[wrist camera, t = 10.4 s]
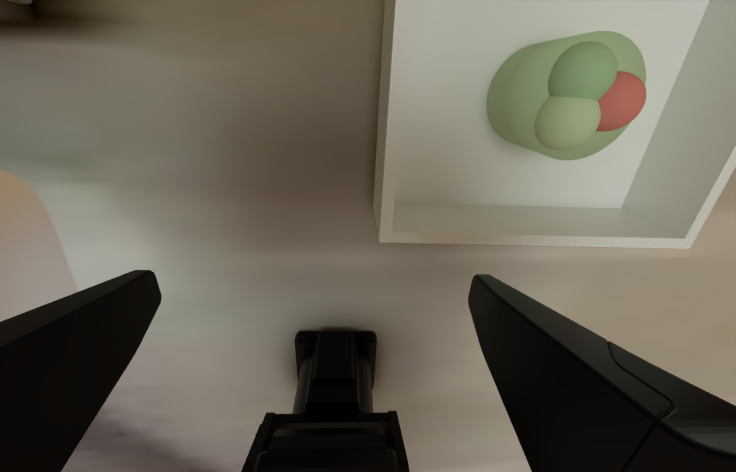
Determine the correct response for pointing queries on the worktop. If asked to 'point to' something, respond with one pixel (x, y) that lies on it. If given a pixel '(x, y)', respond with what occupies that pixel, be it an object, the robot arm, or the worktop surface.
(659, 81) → the serving bin
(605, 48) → the salad portion
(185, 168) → the worktop surface
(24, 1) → the coffee box
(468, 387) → the worktop surface
